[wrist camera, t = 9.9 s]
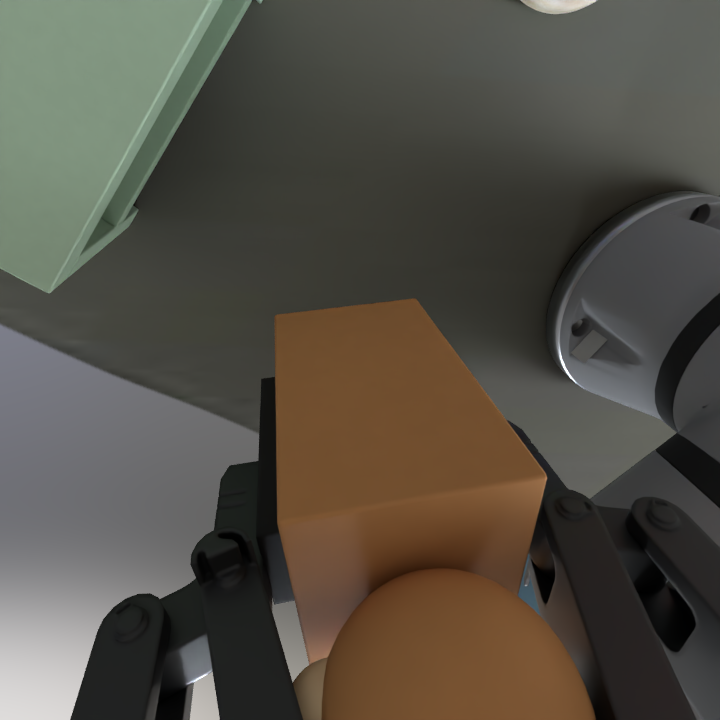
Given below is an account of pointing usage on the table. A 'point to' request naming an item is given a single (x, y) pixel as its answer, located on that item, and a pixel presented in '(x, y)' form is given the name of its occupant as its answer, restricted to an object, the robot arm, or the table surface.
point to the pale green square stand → (92, 117)
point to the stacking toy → (557, 5)
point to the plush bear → (408, 528)
